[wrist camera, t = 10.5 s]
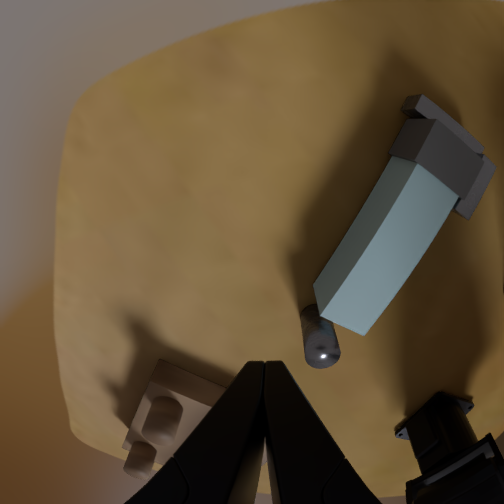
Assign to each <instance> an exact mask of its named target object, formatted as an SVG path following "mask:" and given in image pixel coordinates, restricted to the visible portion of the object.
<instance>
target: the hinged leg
mask: <svg viewBox="0 0 504 504" xmlns="http://www.w3.org/2000/svg"><path fill="white" fill-rule="evenodd" d="M388 153H389V154H390V155H392V157H391V159H390V161H389V163H388V164H387V166H386V168H385V170H384V171H383V173H382V175H381V177H380V178H379V180H378V182H377V183H376V185H375V187H374V188H373V190H372V192H371V194H370V195H369V197H368V199H367V200H366V202H365V204H364V205H363V207H362V209H361V210H360V212H359V214H358V215H357V217H356V218H355V220H354V222H353V223H352V225H351V227H350V228H349V230H348V231H347V233H346V235H345V236H344V238H343V239H342V241H341V242H340V244H339V246H338V247H337V249H336V250H335V252H334V253H333V255H332V257H331V258H330V260H329V261H328V263H327V264H326V266H325V267H324V269H323V270H322V272H321V273H320V275H319V276H318V278H317V279H316V281H315V282H314V284H313V288H314V292H315V296H316V301H317V305H318V309H319V314H320V316H322V317H324V318H326V319H328V320H330V321H332V322H334V323H337V324H339V325H341V326H343V327H345V328H347V329H350V330H352V331H354V332H356V333H358V334H361V335H363V336H364V335H365V334H366V333H367V332H368V330H369V329H370V328H371V326H372V325H373V324H374V323H375V321H376V320H377V319H378V318H379V316H380V315H381V314H382V312H383V311H384V310H385V308H386V307H387V306H388V304H389V303H390V302H391V300H392V299H393V298H394V296H395V295H396V294H397V292H398V291H399V289H400V288H401V287H402V285H403V284H404V282H405V281H406V280H407V278H408V277H409V275H410V274H411V272H412V271H413V269H414V268H415V267H416V265H417V264H418V262H419V261H420V259H421V258H422V256H423V255H424V253H425V251H426V250H427V248H428V247H429V245H430V244H431V242H432V241H433V239H434V237H435V236H436V234H437V233H438V231H439V229H440V228H441V226H442V224H443V223H444V221H445V219H446V218H447V216H448V214H449V213H450V211H451V209H452V208H453V206H454V204H455V202H456V201H457V199H458V198H460V199H462V200H465V198H466V197H467V195H468V193H469V191H470V189H471V187H472V186H473V184H474V182H475V180H476V178H477V176H478V174H479V172H480V170H481V168H482V166H483V164H484V161H483V160H482V159H481V158H480V157H479V156H478V155H477V154H476V153H475V152H474V151H473V150H472V149H471V148H470V147H469V146H468V145H467V144H465V143H464V142H463V141H462V140H461V139H460V138H459V137H458V136H457V135H455V134H454V133H453V132H452V131H451V130H450V129H448V128H447V127H446V126H445V125H444V124H443V123H441V122H440V121H439V120H438V119H407V120H406V122H405V123H404V125H403V127H402V129H401V131H400V133H399V134H398V136H397V138H396V140H395V142H394V144H393V145H392V147H391V149H390V151H389V152H388Z"/></svg>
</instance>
